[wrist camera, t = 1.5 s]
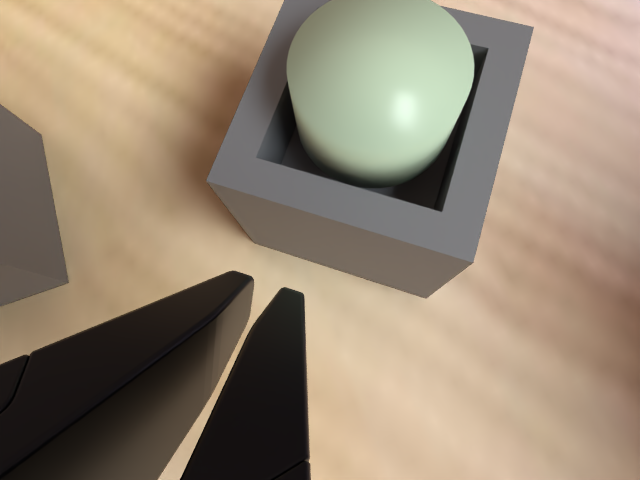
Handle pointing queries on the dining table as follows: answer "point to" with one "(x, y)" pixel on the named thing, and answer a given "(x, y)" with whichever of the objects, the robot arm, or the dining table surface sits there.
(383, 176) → the green button
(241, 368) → the robot arm
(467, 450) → the dining table surface
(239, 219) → the grey button housing
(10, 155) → the terracotta button housing
